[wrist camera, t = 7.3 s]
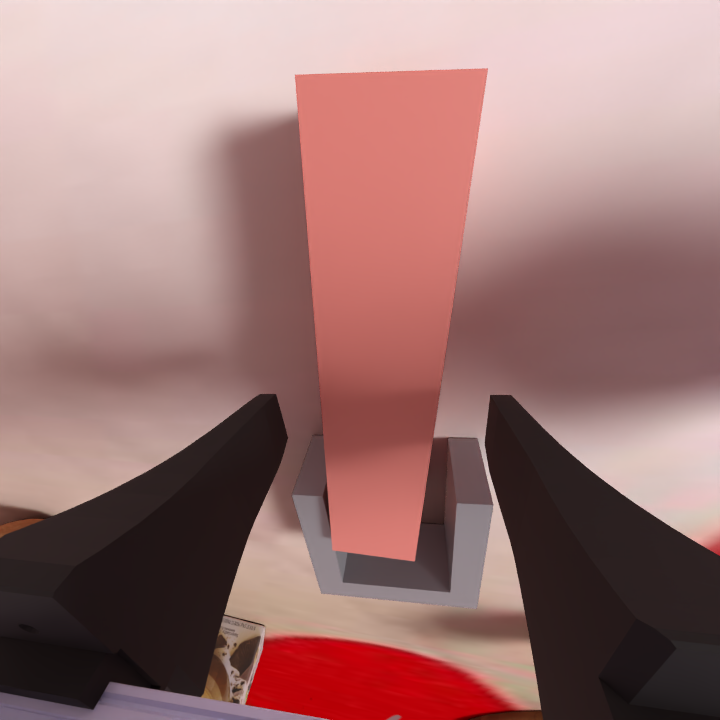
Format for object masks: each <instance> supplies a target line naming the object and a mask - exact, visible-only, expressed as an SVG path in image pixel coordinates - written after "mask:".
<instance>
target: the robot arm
mask: <svg viewBox="0 0 720 720" xmlns="http://www.w3.org/2000/svg"><path fill="white" fill-rule="evenodd" d="M287 439H288V436H287V432H286V429H285V425H284V421H283V418H282V414H281V410H280V407H279V403H278V399H277V396H276V394H260V395H258V396H256V397H255V398H254V399H252V400H251V401H249V402H248V403H247V404H245V405H244V406H243V407H241V408H240V409H239V410H237V411H236V412H235V413H233V414H232V415H231V416H229V417H228V418H227V419H226V420H224V421H223V422H222V423H220V424H219V425H218V426H216V427H215V428H214V429H212V430H211V431H209V432H208V433H207V434H205V435H204V436H202V437H201V438H199V439H198V440H196V441H195V442H194V443H192V444H191V445H189V446H188V447H186V448H185V449H183V450H182V451H180V452H179V453H177V454H176V455H174V456H173V457H171V458H169V459H168V460H166V461H164V462H163V463H161V464H159V465H158V466H156V467H154V468H152V469H151V470H149V471H147V472H145V473H144V474H142V475H140V476H138V477H136V478H134V479H132V480H130V481H128V482H126V483H124V484H122V485H121V486H119V487H117V488H115V489H113V490H111V491H109V492H107V493H105V494H102V495H100V496H98V497H96V498H94V499H92V500H90V501H87V502H85V503H83V504H80V505H78V506H76V507H74V508H71V509H69V510H67V511H64V512H62V513H59V514H57V515H55V516H52V517H49V518H47V519H44V520H42V521H39V522H37V523H34V524H31V525H29V526H26V527H24V528H21V529H19V530H16V531H13V532H10V533H8V534H5V535H4V536H2V537H1V538H0V720H328V719H323V718H317V717H311V716H305V715H300V714H294V713H288V712H282V711H276V710H271V709H265V708H259V707H253V706H247V705H242V704H236V703H230V702H224V701H219V700H213V699H207V698H201V696H202V695H203V694H204V691H205V686H206V682H207V678H208V674H209V670H210V666H211V662H212V658H213V654H214V650H215V646H216V642H217V638H218V634H219V630H220V627H221V623H222V620H223V616H224V613H225V609H226V605H227V602H228V598H229V595H230V592H231V589H232V585H233V582H234V579H235V576H236V572H237V569H238V566H239V563H240V560H241V557H242V554H243V551H244V548H245V545H246V542H247V539H248V536H249V534H250V531H251V529H252V526H253V524H254V521H255V519H256V517H257V515H258V513H259V510H260V508H261V506H262V504H263V502H264V499H265V497H266V495H267V493H268V491H269V488H270V486H271V484H272V482H273V479H274V477H275V475H276V473H277V470H278V468H279V466H280V463H281V460H282V457H283V454H284V450H285V447H286V443H287ZM485 448H486V454H487V460H488V466H489V472H490V475H491V479H492V482H493V486H494V489H495V492H496V496H497V499H498V502H499V506H500V509H501V512H502V516H503V519H504V522H505V526H506V529H507V532H508V535H509V539H510V542H511V546H512V550H513V554H514V558H515V563H516V568H517V573H518V578H519V583H520V588H521V593H522V599H523V604H524V610H525V615H526V620H527V626H528V631H529V637H530V643H531V649H532V655H533V660H534V666H535V672H536V678H537V684H538V691H539V697H540V704H541V710H542V716H543V720H720V556H719V555H717V554H715V553H714V552H712V551H710V550H708V549H707V548H705V547H703V546H702V545H700V544H698V543H696V542H695V541H693V540H691V539H690V538H688V537H686V536H685V535H683V534H682V533H680V532H678V531H677V530H675V529H673V528H672V527H670V526H669V525H667V524H665V523H664V522H662V521H661V520H659V519H658V518H656V517H655V516H653V515H652V514H650V513H649V512H647V511H646V510H644V509H643V508H641V507H640V506H638V505H637V504H635V503H634V502H632V501H631V500H629V499H628V498H627V497H625V496H624V495H622V494H621V493H620V492H618V491H617V490H616V489H614V488H613V487H612V486H610V485H609V484H608V483H606V482H605V481H604V480H602V479H601V478H599V477H598V476H597V475H596V474H594V473H593V472H592V471H591V470H589V469H588V468H587V467H586V466H584V465H583V464H582V463H581V462H580V461H579V460H577V459H576V458H575V457H574V456H573V455H572V454H570V453H569V452H568V451H567V450H566V449H565V448H564V447H562V446H561V445H560V444H559V443H558V442H557V441H556V440H555V439H554V438H553V437H552V436H551V435H550V434H549V433H548V432H547V431H546V430H545V429H544V428H543V427H542V426H541V425H540V424H539V423H538V422H537V421H536V420H535V419H534V418H533V417H532V416H531V415H530V414H529V413H528V412H527V411H526V410H525V409H524V408H523V407H522V406H521V405H520V404H519V403H518V402H517V401H516V400H515V399H514V398H513V397H512V396H511V395H490V403H489V412H488V420H487V428H486V436H485Z"/></svg>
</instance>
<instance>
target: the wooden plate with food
mask: <svg viewBox="0 0 720 720" xmlns="http://www.w3.org/2000/svg"><path fill="white" fill-rule="evenodd" d="M469 720H543V716H542V711H519V712H505V713H496V714H489V715H484V716H479V717H475V718H472V719H469Z"/></svg>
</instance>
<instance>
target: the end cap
mask: <svg viewBox="0 0 720 720" xmlns="http://www.w3.org/2000/svg"><path fill="white" fill-rule="evenodd" d="M292 498H293V501H294V504H295V508H296V511H297V514H298V518H299V521H300V524H301V528H302V531H303V534H304V538H305V541H306V544H307V548H308V551H309V554H310V558H311V561H312V564H313V568H314V571H315V574H316V578H317V581H318V584H319V588H320V591H321V593H322V594H332V595H342V596H352V597H362V598H372V599H382V600H392V601H402V602H412V603H422V604H432V605H442V606H452V607H462V608H472V609H477V606H478V599H479V593H480V587H481V580H482V574H483V567H484V561H485V555H486V548H487V542H488V536H489V529H490V523H491V517H492V510H493V502H492V497H491V493H490V489H489V485H488V481H487V476H486V472H485V468H484V464H483V459H482V455H481V451H480V447H479V443H478V439H471V438H448V455H447V476H446V498H445V520H444V525H443V524H427V523H420V529H419V536H418V543H417V550H416V556H415V561H408V560H400V559H393V558H385V557H378V556H370V555H363V554H356V553H348V552H341V551H333V550H332V539H331V527H330V514H329V501H328V488H327V476H326V463H325V450H324V437H323V435H313V437H312V440H311V442H310V445H309V448H308V451H307V453H306V456H305V459H304V462H303V465H302V467H301V470H300V473H299V476H298V479H297V481H296V484H295V487H294V490H293V492H292Z"/></svg>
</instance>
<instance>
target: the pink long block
mask: <svg viewBox="0 0 720 720" xmlns="http://www.w3.org/2000/svg"><path fill="white" fill-rule="evenodd" d="M487 71H488V68H487V69H457V70H426V71H396V72H366V73H336V74H306V75H295V81H296V94H297V106H298V119H299V132H300V145H301V157H302V170H303V183H304V195H305V208H306V221H307V234H308V246H309V259H310V272H311V285H312V297H313V310H314V323H315V336H316V348H317V361H318V374H319V387H320V399H321V412H322V425H323V437H324V450H325V463H326V476H327V488H328V501H329V514H330V527H331V539H332V550H333V551H341V552H348V553H356V554H363V555H370V556H378V557H385V558H393V559H400V560H408V561H415V556H416V550H417V543H418V536H419V529H420V523H421V516H422V509H423V503H424V496H425V489H426V482H427V476H428V469H429V462H430V455H431V449H432V442H433V435H434V428H435V422H436V415H437V408H438V401H439V395H440V388H441V381H442V374H443V368H444V361H445V354H446V347H447V341H448V334H449V327H450V320H451V314H452V307H453V300H454V294H455V287H456V280H457V273H458V267H459V260H460V253H461V246H462V240H463V233H464V226H465V219H466V213H467V206H468V199H469V192H470V186H471V179H472V172H473V165H474V159H475V152H476V145H477V138H478V132H479V125H480V118H481V111H482V105H483V98H484V91H485V85H486V78H487Z"/></svg>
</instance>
